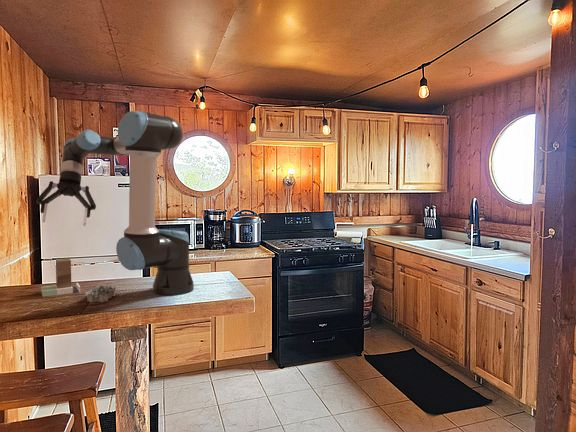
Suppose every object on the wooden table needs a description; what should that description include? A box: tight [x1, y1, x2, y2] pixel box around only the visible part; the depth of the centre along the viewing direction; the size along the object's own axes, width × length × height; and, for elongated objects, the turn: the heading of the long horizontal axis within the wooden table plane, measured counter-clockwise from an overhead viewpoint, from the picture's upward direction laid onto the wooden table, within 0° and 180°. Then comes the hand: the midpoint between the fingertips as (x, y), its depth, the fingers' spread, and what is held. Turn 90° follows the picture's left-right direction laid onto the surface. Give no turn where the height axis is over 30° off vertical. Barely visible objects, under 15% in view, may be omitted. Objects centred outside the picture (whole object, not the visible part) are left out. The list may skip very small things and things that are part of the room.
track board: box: [40, 282, 81, 297], centre depth 146 cm, size 7×12×2 cm, turn 125°
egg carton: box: [85, 284, 117, 303], centre depth 140 cm, size 11×8×4 cm
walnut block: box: [55, 257, 73, 289], centre depth 146 cm, size 4×4×10 cm
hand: (64, 222), depth 150 cm, fingers open, 13 cm apart
